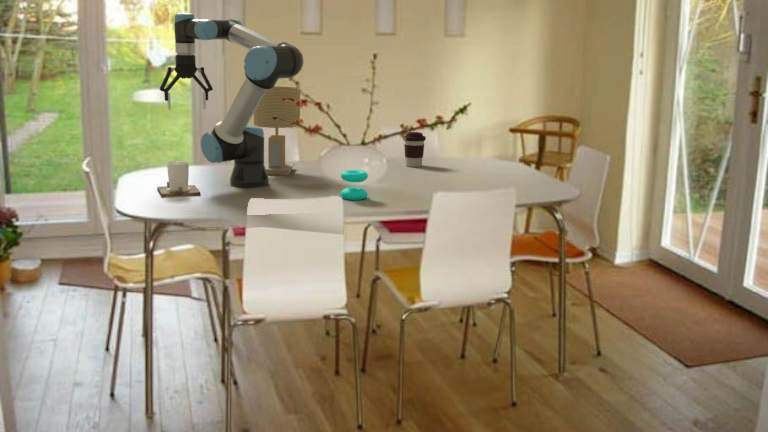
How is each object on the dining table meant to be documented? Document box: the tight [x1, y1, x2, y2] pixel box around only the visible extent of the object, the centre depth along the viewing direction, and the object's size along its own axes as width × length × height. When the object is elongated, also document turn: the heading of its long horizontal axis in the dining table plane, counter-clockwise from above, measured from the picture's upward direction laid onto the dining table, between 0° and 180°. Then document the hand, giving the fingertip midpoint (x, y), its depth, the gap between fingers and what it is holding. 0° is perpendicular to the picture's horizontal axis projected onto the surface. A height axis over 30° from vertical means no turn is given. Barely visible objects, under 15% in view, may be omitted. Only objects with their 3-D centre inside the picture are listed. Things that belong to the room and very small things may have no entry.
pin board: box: [156, 181, 201, 198], centre depth 338 cm, size 14×14×3 cm
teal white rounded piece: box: [340, 169, 369, 201], centre depth 336 cm, size 10×10×10 cm
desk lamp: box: [253, 86, 301, 176], centre depth 381 cm, size 20×20×35 cm
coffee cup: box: [403, 131, 426, 168], centre depth 405 cm, size 10×10×15 cm
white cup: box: [166, 160, 190, 191], centre depth 337 cm, size 8×8×10 cm
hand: (186, 109), depth 354 cm, fingers open, 13 cm apart
